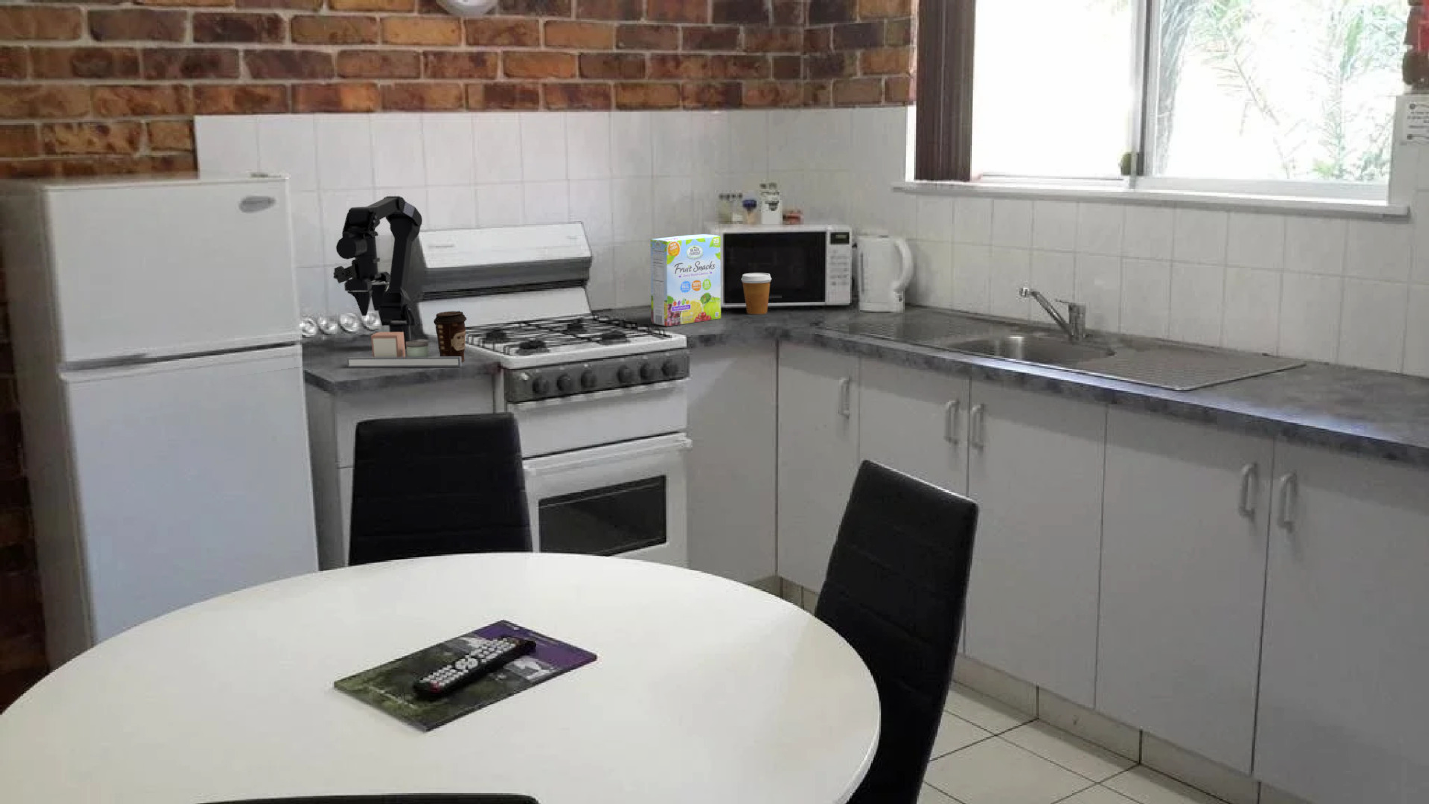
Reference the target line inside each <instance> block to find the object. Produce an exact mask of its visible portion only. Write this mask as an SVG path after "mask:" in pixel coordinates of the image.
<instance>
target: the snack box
mask: <svg viewBox="0 0 1429 804" xmlns="http://www.w3.org/2000/svg"><path fill="white" fill-rule="evenodd" d="M721 239H722V238H721V236H720V235H717V234H706V233H703V234H702V233H701V234H689V235H677V236H676V235H675V236H670V237H660V238H651V239H650V304H651V305H650V306H651V307H650V308H651V309H650V310H651V311H650V315H651V324H653V325H659V326H663V327H671V326H672V327H673V326H679V325H687V324H693V323H699V322H701V323H702V322H706V321H713V320H719V319H720V320H721V319H722V302H721V301H722V300H721V299H722V295H721V294H722V293H721V292H722V291H721V290H722V289H721V285H722V282H721V281H722V279H721V277H722V276H721V273H722V271H721V264H722V263H721V259H722V258H721V257H722V255H721V254H722V253H721V243H722V241H721Z"/></svg>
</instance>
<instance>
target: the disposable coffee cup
mask: <svg viewBox="0 0 1429 804" xmlns="http://www.w3.org/2000/svg"><path fill="white" fill-rule="evenodd" d="M740 280H741V282H742V287H743V294H744V300H745V307H746V308H745V309H746V314H749V315H764V314H767V313H768V307H769V297H770V296H769V295H770V288H771V281H772V277H771V274H770V273H766V272H749V273H744V274H742V277H741V279H740Z"/></svg>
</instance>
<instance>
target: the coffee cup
mask: <svg viewBox="0 0 1429 804" xmlns="http://www.w3.org/2000/svg"><path fill="white" fill-rule="evenodd" d="M467 319H468V318H467V317H466V316H465V314H464V312H463V311H461V310H457V311H456V310H455V311H454V310H451V311H442V312H438V313H436V315H435V318H434V319H433V324H434V325H435V331H436V337H437V343H438V345H437V346H438V351H439V352H438V353H439V357H442V356H461V360H462V363H463V362H465V350H466V337H467V336H466V335H467V334H466V333H467V332H466V324H465V322H466V321H467Z"/></svg>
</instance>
